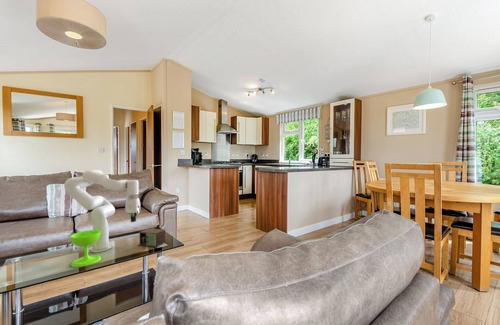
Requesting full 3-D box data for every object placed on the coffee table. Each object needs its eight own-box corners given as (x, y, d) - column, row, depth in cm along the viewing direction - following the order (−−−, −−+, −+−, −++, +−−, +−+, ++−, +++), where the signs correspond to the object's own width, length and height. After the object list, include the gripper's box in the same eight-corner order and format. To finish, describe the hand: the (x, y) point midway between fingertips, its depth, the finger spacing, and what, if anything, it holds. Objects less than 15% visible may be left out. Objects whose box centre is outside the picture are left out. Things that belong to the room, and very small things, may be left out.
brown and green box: (137, 245, 172) (137, 232, 172) (149, 240, 183) (149, 228, 183) (154, 247, 167) (154, 234, 167) (165, 242, 178) (165, 229, 178)
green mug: (141, 247, 166) (140, 235, 166) (146, 244, 171) (146, 233, 171) (150, 248, 163) (149, 236, 163) (155, 245, 168) (155, 234, 168)
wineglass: (106, 258, 150) (106, 231, 150) (80, 269, 135) (79, 239, 135) (91, 254, 157) (91, 229, 156) (65, 264, 142) (64, 236, 142)
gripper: (120, 197, 164) (121, 222, 164) (137, 197, 159) (137, 223, 159) (129, 195, 171) (129, 219, 171) (145, 196, 166) (145, 221, 166)
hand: (133, 221), depth 165 cm, fingers closed
